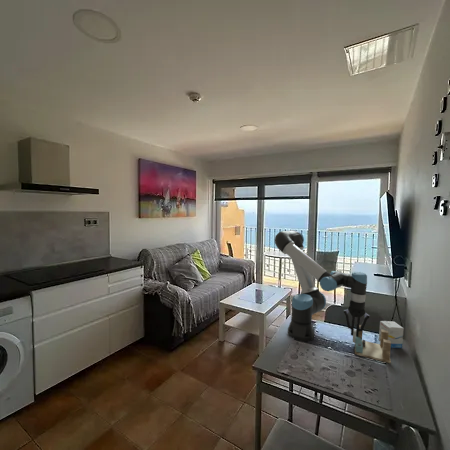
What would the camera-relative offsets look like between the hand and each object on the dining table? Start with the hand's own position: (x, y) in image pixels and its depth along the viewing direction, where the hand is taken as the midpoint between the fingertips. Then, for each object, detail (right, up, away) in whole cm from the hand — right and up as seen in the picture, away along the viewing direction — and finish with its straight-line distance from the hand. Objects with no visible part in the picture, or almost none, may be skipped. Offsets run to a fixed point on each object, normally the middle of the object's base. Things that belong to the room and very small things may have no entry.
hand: (354, 341), depth 141 cm
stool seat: (+7, -3, -5) cm, 9 cm away
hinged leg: (0, -1, -4) cm, 4 cm away
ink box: (+22, -3, +3) cm, 23 cm away
